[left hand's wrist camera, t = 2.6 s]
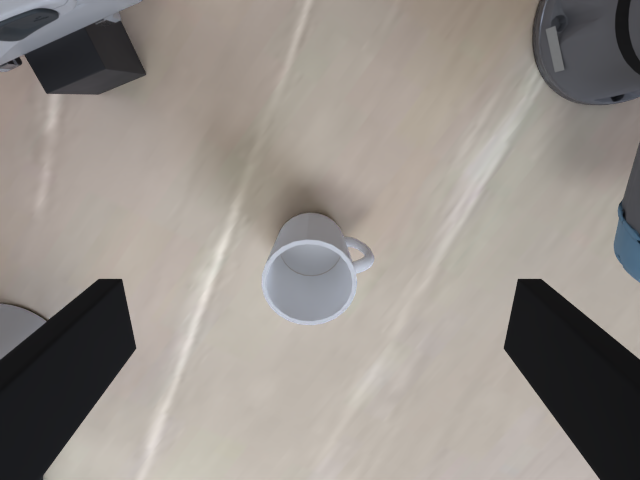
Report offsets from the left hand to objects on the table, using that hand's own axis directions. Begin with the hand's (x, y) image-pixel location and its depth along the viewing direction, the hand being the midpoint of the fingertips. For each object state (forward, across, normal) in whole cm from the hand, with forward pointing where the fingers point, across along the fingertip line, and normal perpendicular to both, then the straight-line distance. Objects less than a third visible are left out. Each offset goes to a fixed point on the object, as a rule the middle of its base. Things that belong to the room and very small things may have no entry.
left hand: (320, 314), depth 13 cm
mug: (+31, 0, -9) cm, 32 cm away
